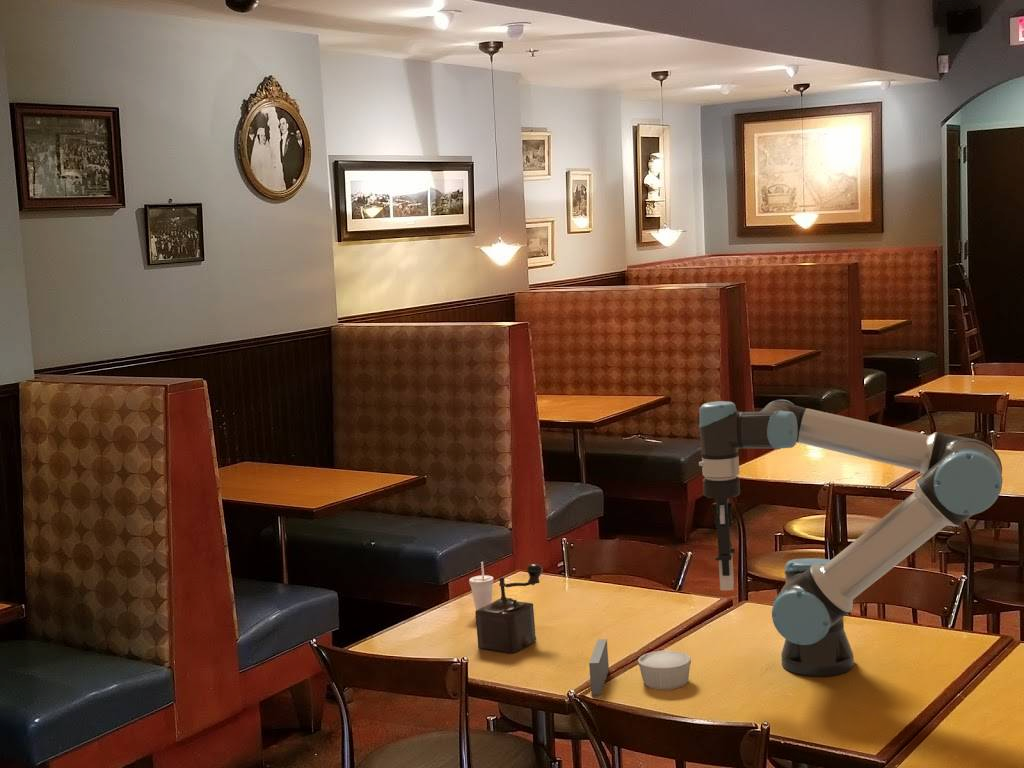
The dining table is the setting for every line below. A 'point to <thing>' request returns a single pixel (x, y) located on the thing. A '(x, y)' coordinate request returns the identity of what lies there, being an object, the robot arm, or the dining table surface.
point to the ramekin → (665, 669)
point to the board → (599, 667)
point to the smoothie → (481, 589)
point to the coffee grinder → (508, 619)
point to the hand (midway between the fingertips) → (727, 586)
